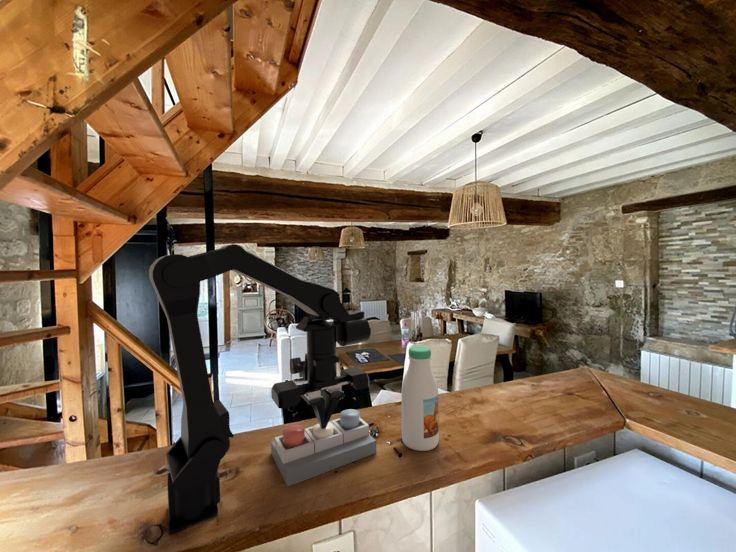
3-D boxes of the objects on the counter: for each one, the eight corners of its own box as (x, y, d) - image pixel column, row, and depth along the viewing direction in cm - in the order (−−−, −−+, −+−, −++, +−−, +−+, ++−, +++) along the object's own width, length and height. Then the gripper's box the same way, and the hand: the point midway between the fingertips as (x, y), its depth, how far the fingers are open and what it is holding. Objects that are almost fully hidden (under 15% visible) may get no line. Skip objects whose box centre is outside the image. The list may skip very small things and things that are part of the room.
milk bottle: (410, 455, 62) (409, 355, 61) (396, 434, 70) (395, 345, 69) (445, 448, 64) (445, 351, 63) (428, 429, 72) (428, 342, 71)
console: (287, 486, 54) (286, 461, 54) (271, 453, 63) (270, 431, 63) (376, 452, 63) (376, 430, 63) (350, 428, 73) (350, 408, 72)
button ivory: (317, 447, 60) (317, 434, 60) (310, 437, 64) (310, 425, 64) (336, 441, 62) (336, 429, 62) (328, 432, 66) (328, 420, 66)
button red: (286, 451, 57) (286, 438, 57) (280, 440, 61) (280, 428, 60) (307, 444, 59) (307, 431, 59) (300, 434, 63) (300, 422, 63)
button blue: (345, 432, 63) (345, 420, 63) (337, 423, 67) (337, 412, 67) (363, 426, 65) (362, 415, 65) (353, 418, 69) (353, 407, 69)
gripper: (345, 336, 74) (346, 401, 75) (263, 348, 64) (265, 422, 65) (370, 347, 64) (371, 421, 65) (278, 362, 55) (280, 450, 55)
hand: (323, 427), depth 63 cm, fingers closed, pressing on button ivory
